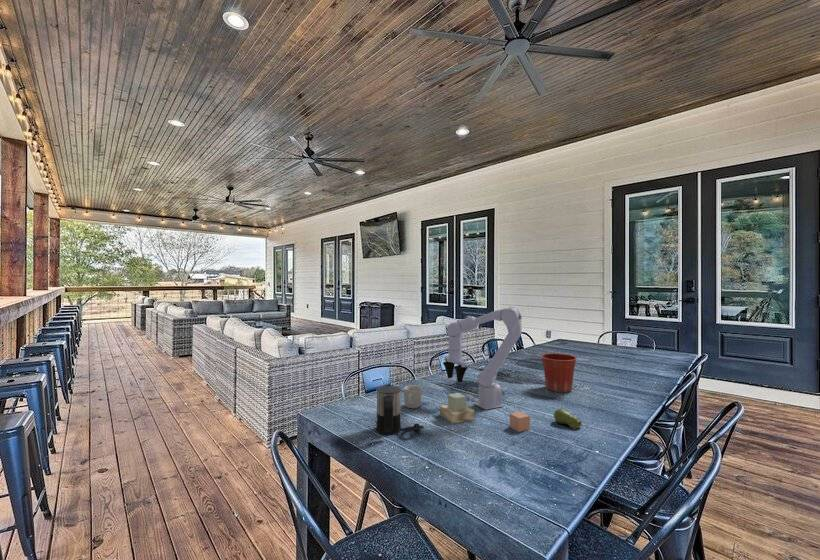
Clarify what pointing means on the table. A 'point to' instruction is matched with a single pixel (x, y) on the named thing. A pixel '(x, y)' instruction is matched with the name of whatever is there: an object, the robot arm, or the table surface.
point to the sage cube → (456, 401)
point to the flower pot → (559, 371)
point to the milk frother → (390, 411)
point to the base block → (457, 414)
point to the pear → (567, 418)
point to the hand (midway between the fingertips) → (454, 379)
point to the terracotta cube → (520, 421)
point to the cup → (412, 396)
